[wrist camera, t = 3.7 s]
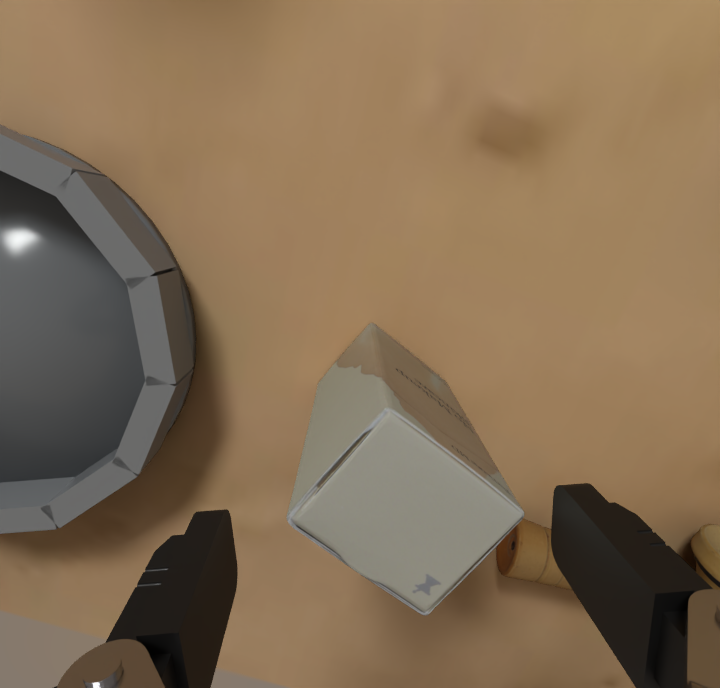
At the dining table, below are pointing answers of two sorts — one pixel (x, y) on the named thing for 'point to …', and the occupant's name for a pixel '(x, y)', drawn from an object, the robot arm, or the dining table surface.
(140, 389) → the round tray
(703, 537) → the kendama
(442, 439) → the box
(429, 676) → the dining table surface
